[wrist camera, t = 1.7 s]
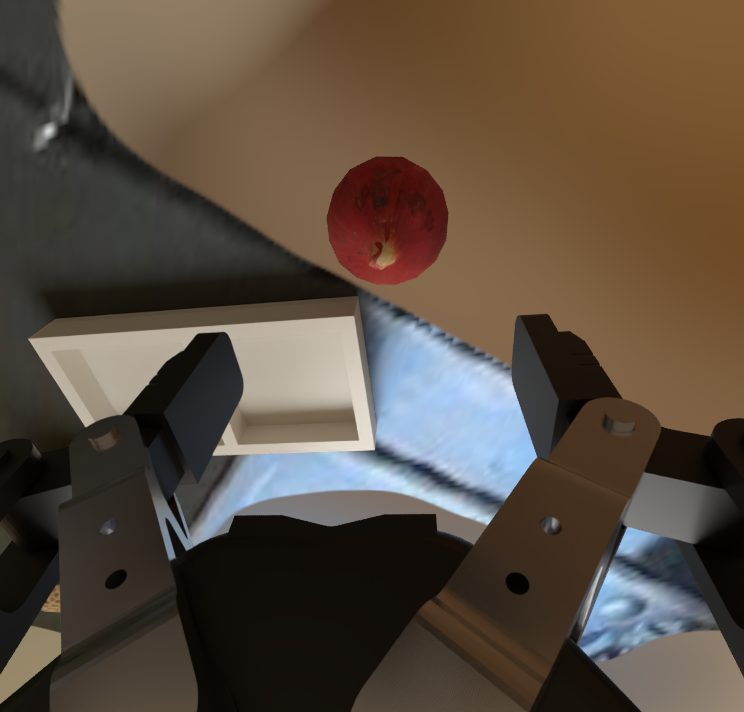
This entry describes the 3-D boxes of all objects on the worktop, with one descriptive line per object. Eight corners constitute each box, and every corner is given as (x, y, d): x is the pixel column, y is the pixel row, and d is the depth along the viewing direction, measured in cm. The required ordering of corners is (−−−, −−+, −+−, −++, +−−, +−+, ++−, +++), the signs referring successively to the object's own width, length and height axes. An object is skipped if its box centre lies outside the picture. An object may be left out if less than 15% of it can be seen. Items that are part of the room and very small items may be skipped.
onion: (334, 145, 22) (304, 180, 16) (446, 143, 22) (463, 178, 15) (341, 253, 26) (319, 319, 19) (438, 253, 25) (450, 320, 19)
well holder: (55, 318, 30) (28, 338, 27) (358, 295, 27) (354, 315, 25) (124, 435, 36) (106, 459, 34) (376, 424, 33) (374, 450, 31)
